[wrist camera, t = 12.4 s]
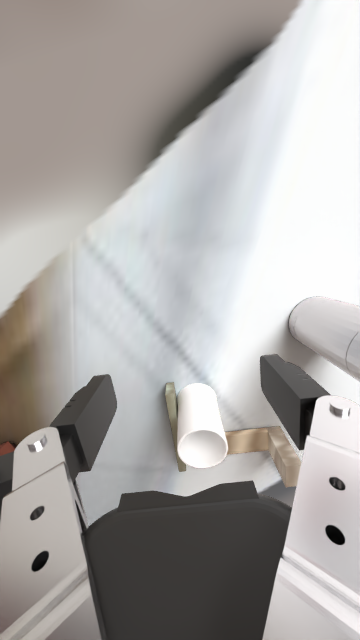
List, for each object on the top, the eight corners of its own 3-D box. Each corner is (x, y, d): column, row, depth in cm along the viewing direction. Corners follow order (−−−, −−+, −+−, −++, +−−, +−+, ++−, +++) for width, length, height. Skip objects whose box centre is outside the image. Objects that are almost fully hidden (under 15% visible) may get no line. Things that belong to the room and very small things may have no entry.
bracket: (279, 369, 42) (305, 398, 33) (279, 444, 47) (302, 485, 38) (166, 383, 43) (163, 414, 34) (179, 454, 48) (178, 497, 39)
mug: (231, 415, 45) (249, 468, 34) (198, 433, 47) (204, 490, 35) (203, 375, 43) (211, 418, 31) (169, 395, 44) (165, 443, 32)
